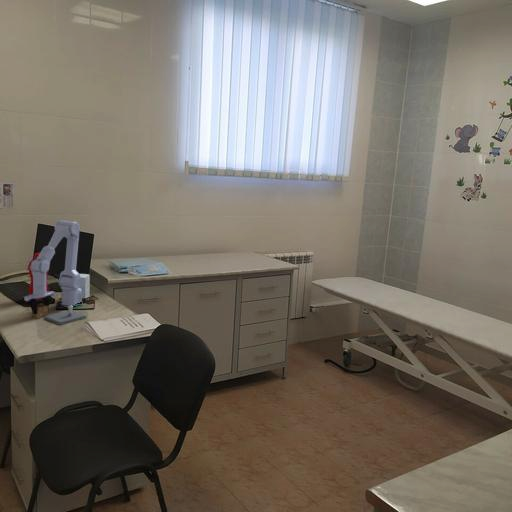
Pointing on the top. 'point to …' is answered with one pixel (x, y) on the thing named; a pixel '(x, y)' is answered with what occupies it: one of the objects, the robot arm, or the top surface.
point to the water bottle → (32, 277)
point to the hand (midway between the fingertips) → (40, 312)
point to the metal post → (70, 310)
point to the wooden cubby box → (41, 311)
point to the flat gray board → (64, 317)
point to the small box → (85, 285)
